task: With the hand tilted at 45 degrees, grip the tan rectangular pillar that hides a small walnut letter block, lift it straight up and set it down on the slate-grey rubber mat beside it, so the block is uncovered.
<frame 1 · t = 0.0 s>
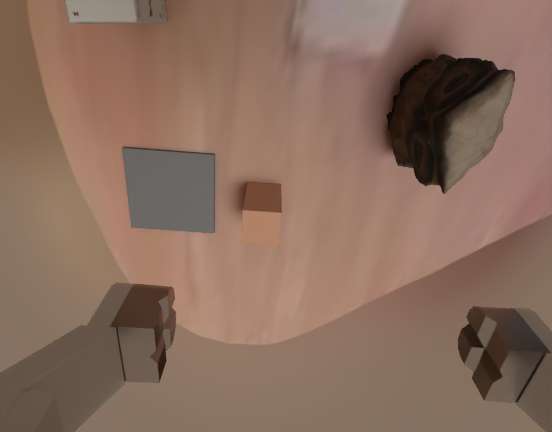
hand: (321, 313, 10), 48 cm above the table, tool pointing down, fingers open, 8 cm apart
dark brown rock: (425, 111, 55), on the table
tan rectangular pillar: (263, 198, 62), on the table
grey mat: (171, 191, 61), on the table
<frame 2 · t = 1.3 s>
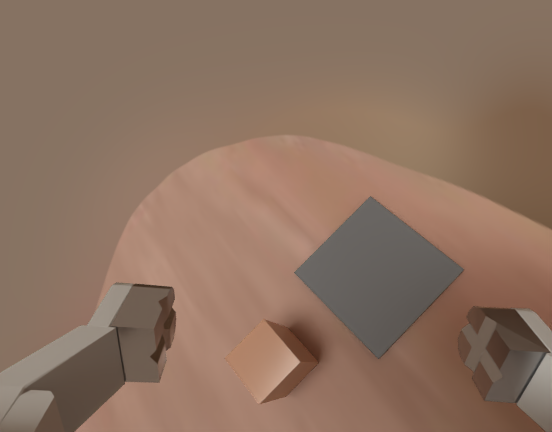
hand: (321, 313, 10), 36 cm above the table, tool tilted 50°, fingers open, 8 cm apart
tan rectangular pillar: (287, 361, 45), on the table
grey mat: (374, 272, 46), on the table
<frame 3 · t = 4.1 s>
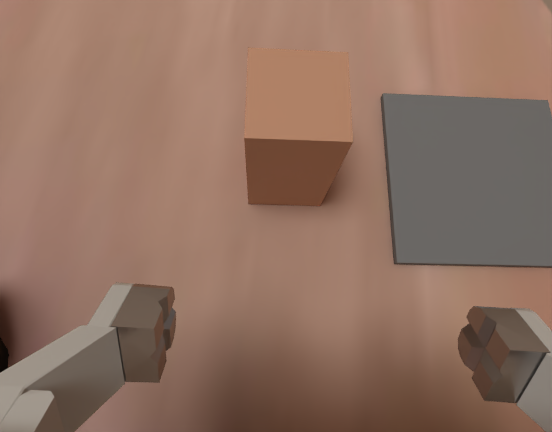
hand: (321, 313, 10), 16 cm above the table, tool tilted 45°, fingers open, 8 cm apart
tan rectangular pillar: (284, 171, 29), on the table
grey mat: (474, 177, 30), on the table
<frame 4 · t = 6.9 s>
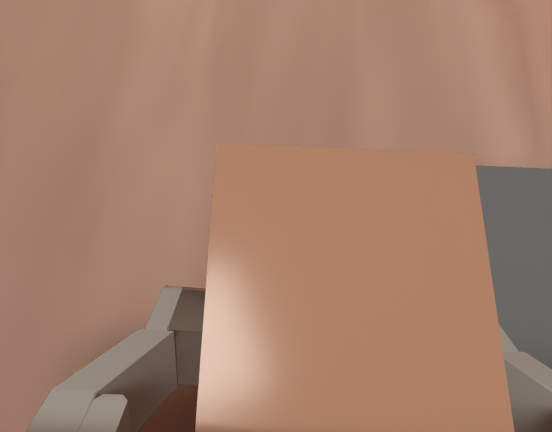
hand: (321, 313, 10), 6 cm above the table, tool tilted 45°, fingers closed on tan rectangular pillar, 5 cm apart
tan rectangular pillar: (296, 308, 17), on the table, touching gripper
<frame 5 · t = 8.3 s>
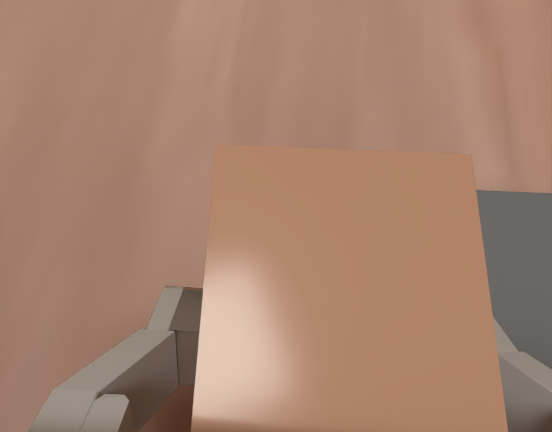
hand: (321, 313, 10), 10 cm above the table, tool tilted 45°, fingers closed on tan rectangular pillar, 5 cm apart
tan rectangular pillar: (302, 307, 17), point 3 cm above the table, touching gripper
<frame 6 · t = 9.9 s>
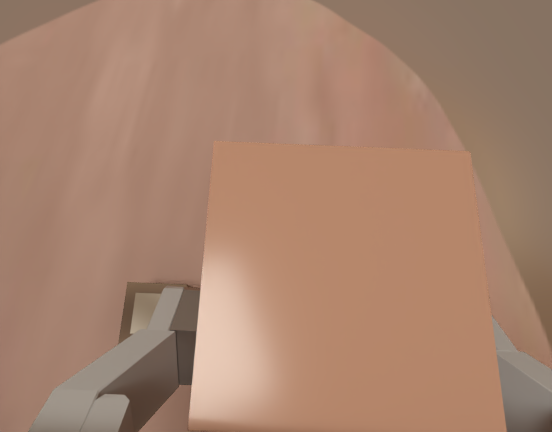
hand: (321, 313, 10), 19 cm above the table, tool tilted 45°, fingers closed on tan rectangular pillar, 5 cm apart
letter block: (160, 314, 27), on the table
tan rectangular pillar: (300, 306, 17), point 13 cm above the table, touching gripper
when the fingers open (8 cm above the table, at t = 12.9 s): tan rectangular pillar drops 1 cm, resting on grey mat.
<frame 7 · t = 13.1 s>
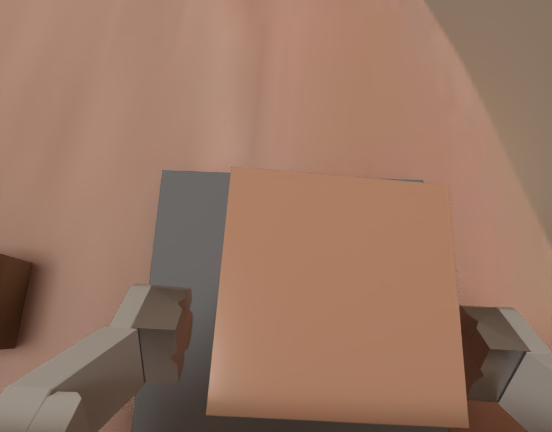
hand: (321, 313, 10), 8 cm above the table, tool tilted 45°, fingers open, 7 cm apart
tan rectangular pillar: (291, 309, 18), point 1 cm above the table, touching grey mat
grey mat: (292, 310, 19), on the table
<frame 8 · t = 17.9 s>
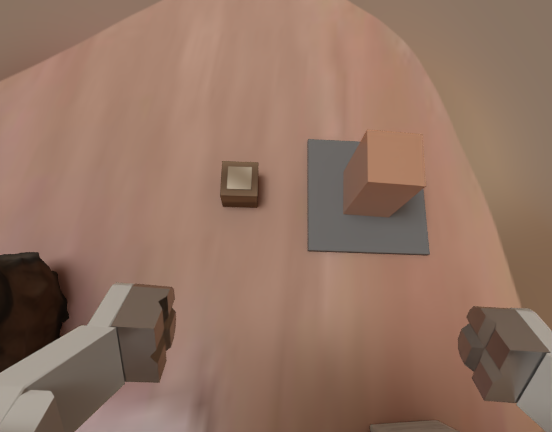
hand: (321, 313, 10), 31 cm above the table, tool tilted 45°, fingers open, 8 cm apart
dark brown rock: (12, 326, 39), on the table
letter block: (240, 184, 43), on the table
tan rectangular pillar: (365, 194, 45), point 1 cm above the table, touching grey mat
grey mat: (365, 196, 45), on the table
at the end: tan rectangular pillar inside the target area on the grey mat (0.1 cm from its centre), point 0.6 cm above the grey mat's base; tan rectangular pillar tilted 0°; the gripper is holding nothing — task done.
